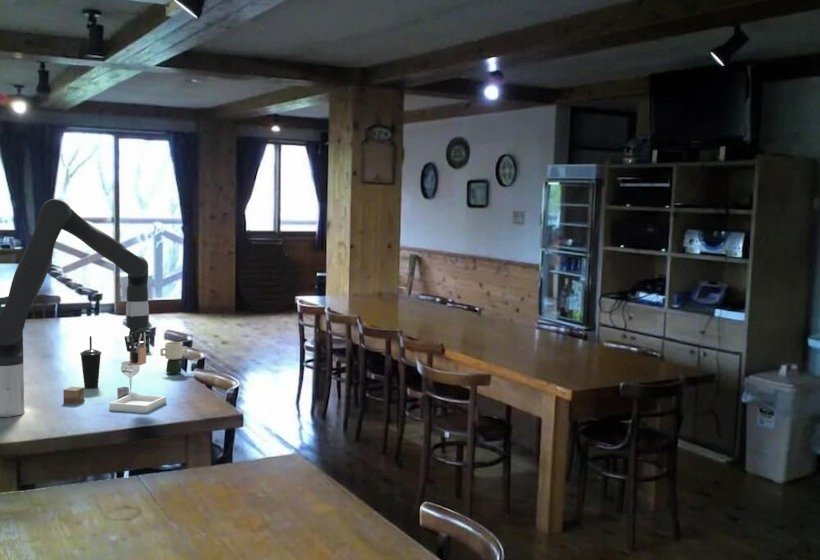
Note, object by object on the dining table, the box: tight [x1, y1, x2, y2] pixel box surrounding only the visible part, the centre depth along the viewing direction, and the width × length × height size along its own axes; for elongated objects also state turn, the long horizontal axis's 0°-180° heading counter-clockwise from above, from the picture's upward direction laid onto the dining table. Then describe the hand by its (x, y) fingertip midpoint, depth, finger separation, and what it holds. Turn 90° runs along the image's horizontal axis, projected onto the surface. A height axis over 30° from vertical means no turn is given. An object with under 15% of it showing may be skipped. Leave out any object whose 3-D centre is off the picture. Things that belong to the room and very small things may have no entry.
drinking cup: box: [79, 335, 102, 390], centre depth 308 cm, size 8×8×20 cm
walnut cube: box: [62, 386, 85, 405], centre depth 286 cm, size 5×5×5 cm
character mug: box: [159, 341, 188, 375], centre depth 336 cm, size 11×7×13 cm, turn 118°
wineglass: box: [120, 360, 141, 394], centre depth 299 cm, size 7×7×12 cm
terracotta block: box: [129, 346, 147, 366], centre depth 280 cm, size 4×4×6 cm
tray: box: [108, 393, 167, 414], centre depth 282 cm, size 14×14×2 cm
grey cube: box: [116, 386, 130, 400], centre depth 292 cm, size 4×4×4 cm
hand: (137, 361), depth 280 cm, fingers closed on terracotta block, 4 cm apart
